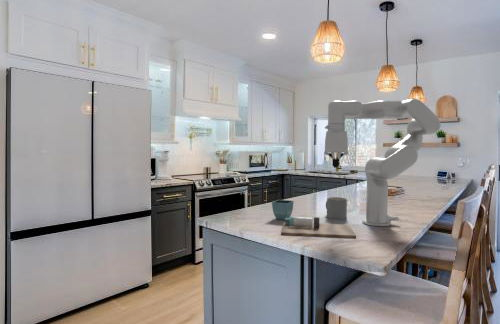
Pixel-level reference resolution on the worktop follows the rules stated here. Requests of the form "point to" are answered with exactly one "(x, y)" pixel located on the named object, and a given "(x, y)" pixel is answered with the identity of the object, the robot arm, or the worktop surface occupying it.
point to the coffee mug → (336, 208)
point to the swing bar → (301, 221)
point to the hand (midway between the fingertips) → (335, 167)
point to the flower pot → (282, 209)
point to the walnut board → (318, 230)
